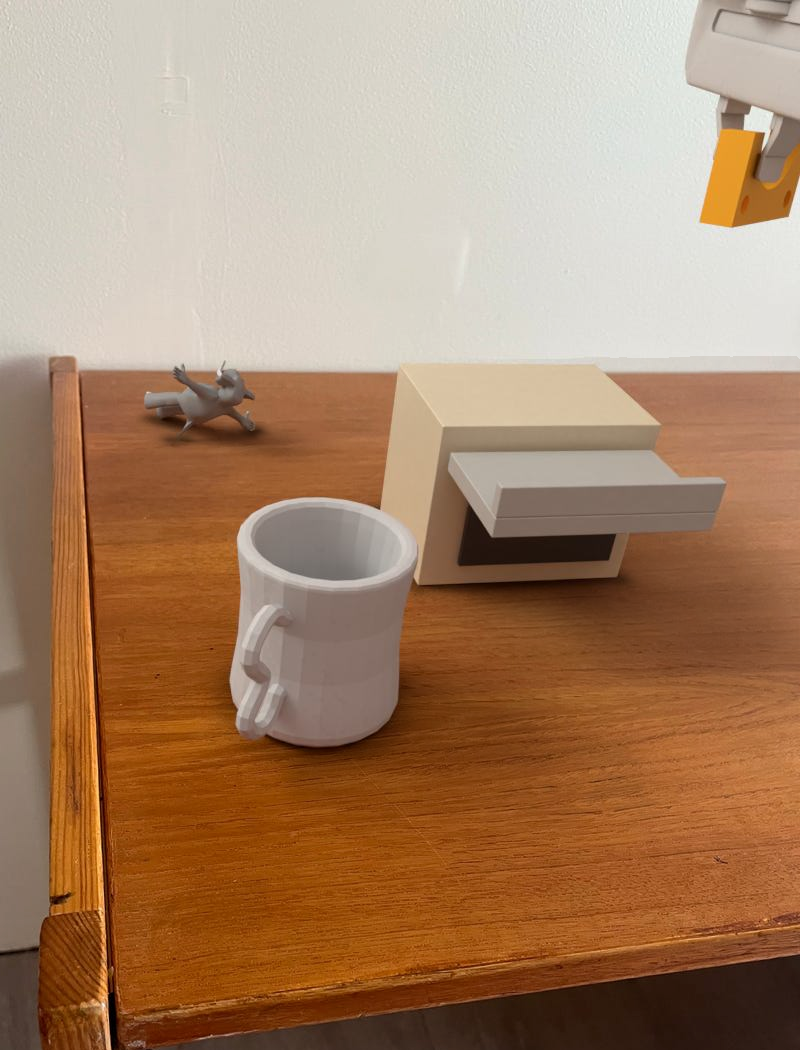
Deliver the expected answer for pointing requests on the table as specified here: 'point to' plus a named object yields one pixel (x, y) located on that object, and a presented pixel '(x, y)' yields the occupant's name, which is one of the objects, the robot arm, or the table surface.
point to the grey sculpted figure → (203, 399)
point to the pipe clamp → (746, 183)
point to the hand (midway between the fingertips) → (743, 172)
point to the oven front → (529, 473)
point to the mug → (320, 620)
